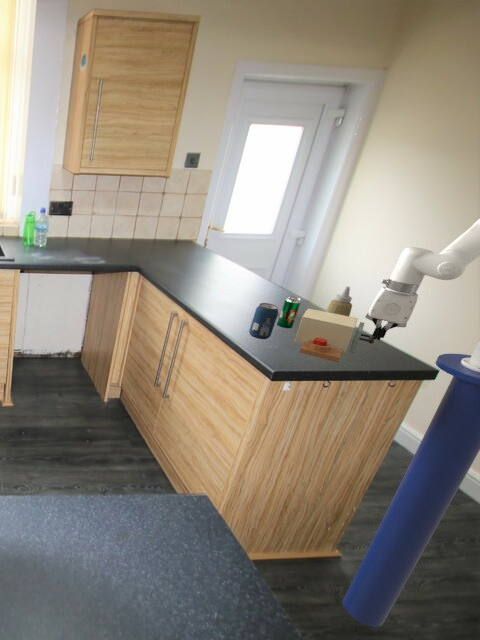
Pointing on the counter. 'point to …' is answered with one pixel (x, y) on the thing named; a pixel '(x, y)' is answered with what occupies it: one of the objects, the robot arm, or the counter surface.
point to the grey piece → (357, 338)
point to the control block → (321, 351)
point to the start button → (320, 341)
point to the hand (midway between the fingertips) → (376, 338)
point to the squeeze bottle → (341, 303)
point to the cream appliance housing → (326, 328)
